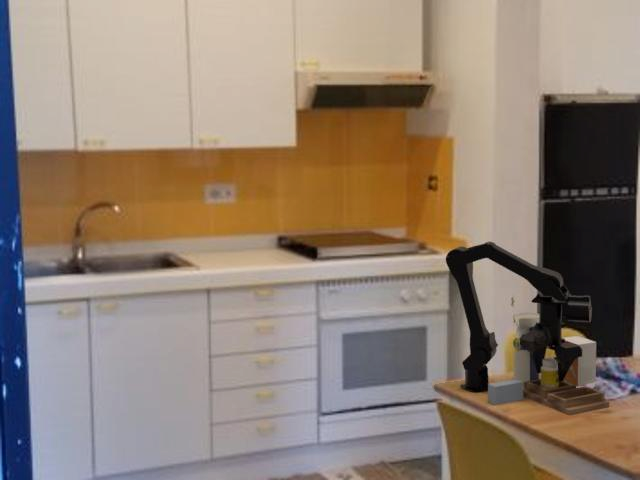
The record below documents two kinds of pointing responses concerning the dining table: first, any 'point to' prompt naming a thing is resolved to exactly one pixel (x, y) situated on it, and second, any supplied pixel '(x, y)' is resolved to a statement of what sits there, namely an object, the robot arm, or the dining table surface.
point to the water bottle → (522, 357)
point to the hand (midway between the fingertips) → (549, 377)
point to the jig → (565, 397)
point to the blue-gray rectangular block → (505, 392)
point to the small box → (582, 362)
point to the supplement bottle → (549, 373)
